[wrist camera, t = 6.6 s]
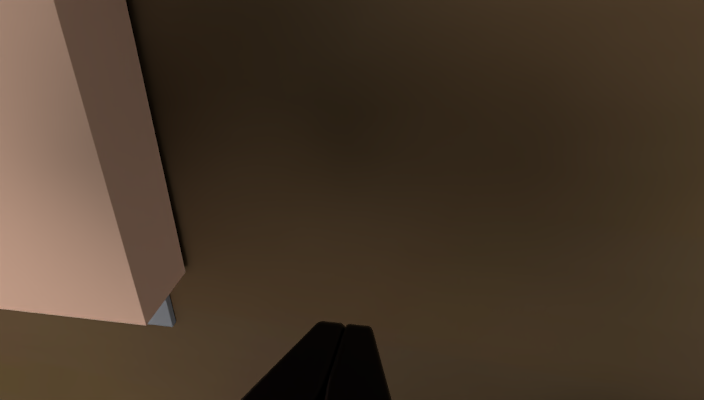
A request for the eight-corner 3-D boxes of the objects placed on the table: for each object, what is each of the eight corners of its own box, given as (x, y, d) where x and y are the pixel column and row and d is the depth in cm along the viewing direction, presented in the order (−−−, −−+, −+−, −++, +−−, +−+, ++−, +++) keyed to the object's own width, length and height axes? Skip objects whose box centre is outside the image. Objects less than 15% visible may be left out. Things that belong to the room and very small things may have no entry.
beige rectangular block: (146, 325, 18) (-33, 305, 19) (185, 272, 20) (26, 256, 21) (32, -74, 12) (-219, -69, 13) (108, -77, 14) (-106, -74, 15)
